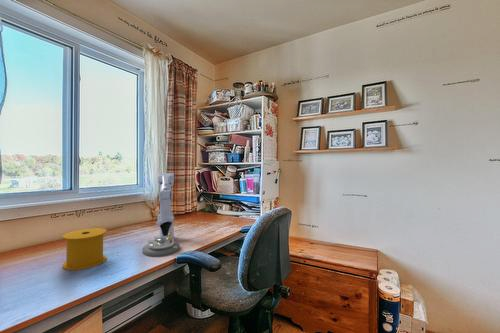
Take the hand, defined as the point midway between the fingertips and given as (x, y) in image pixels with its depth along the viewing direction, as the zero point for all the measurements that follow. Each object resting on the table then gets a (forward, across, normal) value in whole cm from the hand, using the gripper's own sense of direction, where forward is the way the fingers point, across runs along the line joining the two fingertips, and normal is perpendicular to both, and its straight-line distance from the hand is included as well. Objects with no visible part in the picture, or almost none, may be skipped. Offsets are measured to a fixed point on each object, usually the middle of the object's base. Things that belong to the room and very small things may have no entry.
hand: (165, 235), depth 130 cm
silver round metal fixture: (+8, +4, +5) cm, 10 cm away
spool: (+10, -21, +31) cm, 39 cm away
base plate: (+10, +4, +5) cm, 12 cm away
